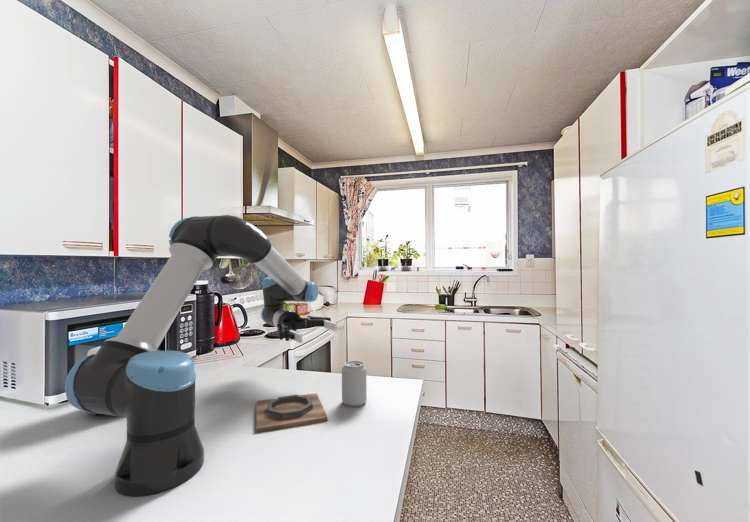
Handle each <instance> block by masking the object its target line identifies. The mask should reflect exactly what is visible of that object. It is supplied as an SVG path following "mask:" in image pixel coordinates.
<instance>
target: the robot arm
mask: <svg viewBox="0 0 750 522" xmlns="http://www.w3.org/2000/svg"><path fill="white" fill-rule="evenodd" d="M168 237H169V238H170V239H169V240H168V242H169V243H168V244H169V247H168V249H169V250H168V251H169V253H170V257H169V258H168V260H167V261H166V263H165V264H164V265H163V267H162V269H161V270H160V271H159V273H158V275H157V276H156V277H155V279H154V281H153V282H152V283H151V285H150V286H149V287H148V289H147V291H146V293H145V294H144V296H143V297H142V299H141V300H140V301H139V303H138V304H137V306H136V308H134V311H132V313H131V315H130V316H129V318H128V319H127V321H126V322H125V324H124V325H123V327H122V328H121V330H119V332H118V335H117V336H114V337H111V338H107V339H105V340H104V342H102V345H100V346H101V347H100V349H99V350H98V351H97V353H96V354H92V355H90V356H87V355H86V357H82V358H81V359H80V360H78V361H77V362H76V363H75V364H74V365H73V366H72V367H71V369H70V371H69V372H68V374H67V376H66V379H65V383H64V392H65V396H66V400H67V401H68V403H69V404H70V405H71V406H72V407H74V408H75V409H77V410H81V411H83V412H86V413H87V412H90V413H92V414H99V413H100V414H106V415H105V416H114V417H118V418H119V417H121V418H126V441H125V445H124V448H123V450H122V453H121V456H120V459H119V461H118V464H117V467H116V469H115V473H114V487H115V490H116V491H117V492H118V493H120V494H121V495H125V496H129V497H132V496H133V497H135V496H136V497H140V496H141V497H142V496H147V495H151V494H152V495H153V494H157V493H161V492H163V491H166V490H169V489H172V488H175V487H177V486H179V485H180V484H182V483H184V482H186V481H188V480H189V479H190V478H193V477H194V475H196V473H198V472H199V471H200V470H201V468H202V466H204V462H205V449H204V446H203V443H202V441H201V439H200V435H199V433H198V431H197V428H196V426H195V425H196V424H195V423H196V421H195V418H196V417H195V415H196V412H195V409H196V370H195V362H194V361H195V360H194V358H193V357H192V356H190V354H189V353H186V352H183V351H179V350H178V351H177V350H162V349H161V350H160V349H158V348H159V347H160V346H161V344H162V342H163V340H164V339H165V336H166V335H167V333H168V331H169V330H170V327H171V325H172V324H173V323H174V321H175V319H176V317H178V314H179V312H180V311H181V309H182V307H183V305H184V303H185V302H186V301H187V299H188V297H189V295H190V293H191V292H192V290H193V289H194V286H195V285H196V283H197V281H198V279H199V278H200V276H201V275H202V272H203V271H207V270H209V269H211V268H212V267H213V265H214V263H215V262H216V259H217V258H218V257H236V258H240V259H243V260H244V261H245V262H246V263H248V264H254V265H255V266H256V267H257V268H258V269H260V271H261V272H264V273H265V275H267V277H264V278H263V279H262V280H261V281H262V296H263V308H262V310H261V312H260V317H261V319H262V321H263V322H265V323H266V324H267V325H269V326H273V327H275V328H276V332H277V333H278V337H279V338H278V339H279V340H284V339H285V341H286V342H287V341H288V342H289V341H290V340H293V341H295V342H297V343H299V344H301V343H303V334H302V333H300V332H297V330H302V329H309V328H312V327H313V328H315V327H316V328H321V327H322V328H324V329H327V330H330V331H332V332H338V324H337V323H336V322H333V321H332V320H331V319H332V318H331V317H326V316H312V315H308V316H307V317H301V316H300V314H299V313H297V312H295V311H292V310H290V309H286V308H285V302H299V303H301V302H302V303H303V302H304V303H307V302H308V303H309V302H310V303H311V302H315V301H316V300H317V299H318V296H319V291H320V290H319V285H318V284H317V283H316V282H314V281H307V280H305V278H303V276H301V275H300V273H299V272H297V270H295V268H294V267H293V266H292V265H291V264H290V263H289V262H288V261H287V260H286V259H285V258H284V257H283V256H282V255H281V254H280V253H279V252H278V251H277V250H276V248H274V247H273V242H272V240H271V239H270V238H269V237H268V236H267V234H266V233H264V232H263V231H262V230H261V229H260V228H258V227H257V226H256V225H254V224H253V223H250V222H249V221H247V220H246V219H244V218H241V217H239V216H235V215H231V214H222V215H210V216H209V215H206V216H197V215H195V216H189V217H185V218H182V219H180V220H178V221H176V223H174V224H173V226H172V227H171V229H170V231H169V235H168ZM92 414H91V415H92Z"/></svg>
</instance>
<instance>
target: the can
mask: <svg viewBox="0 0 750 522" xmlns="http://www.w3.org/2000/svg"><path fill="white" fill-rule="evenodd" d="M343 365H344V366H342V367H341V401H342V403H343V404H345V405H346V406H347V407H360V406H363V405H364V404H365V403H366V402H367V399H368V398H367V367H366V366H365V363H364V362H363V361H361V360H349V361H346V362H344V363H343Z"/></svg>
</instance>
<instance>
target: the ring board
mask: <svg viewBox="0 0 750 522" xmlns="http://www.w3.org/2000/svg"><path fill="white" fill-rule="evenodd" d="M255 419H256V423H255V424H256V425H255V427H256V429H255V431H256V432H255V433H262V432H269V431H274V430H275V431H276V430H281V429H286V428H292V427H298V426H305V425H310V424H312V425H313V424H316V423H321V422H322V423H323V422H327V421H328V419H329V417H328V415H327V412H326V411H325V408H324V406H323V404H322V402H321V400H320V398H319V396H318V393H316V392H315V393H307V394H292V395H284V396H279V397H277V398H271V399H270V398H269V399H264V400H263V399H262V400H256V418H255Z"/></svg>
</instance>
